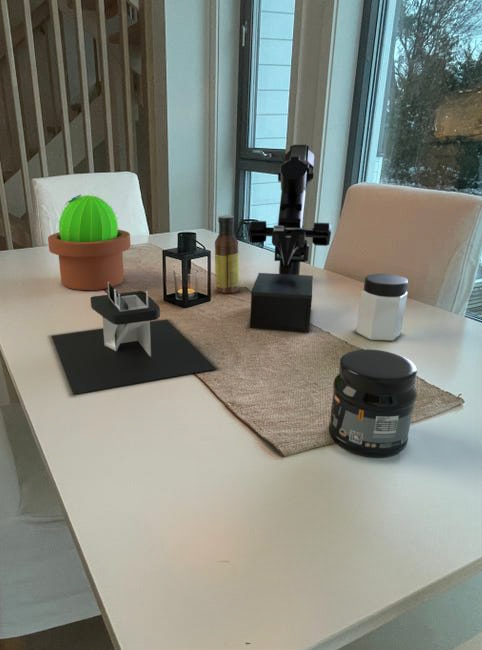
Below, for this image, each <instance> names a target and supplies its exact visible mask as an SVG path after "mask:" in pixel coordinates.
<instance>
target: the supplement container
mask: <svg viewBox="0 0 482 650" xmlns="http://www.w3.org/2000/svg"><path fill="white" fill-rule="evenodd" d="M338 366H339V367H338V374H337V375H336V376H335V377H334V379H333V383H332V388H333V392H332V401H331V409H330V416H329V417H330V418H329V422H328V433H329V437H330V438H331V440H332V441H333V443H334V444H336V445H337V446H338V447H339V448H341V449H342V450H344V451H346V452H347V453H349V454H353V455H355V456H358V457H361V458H367V459H389V458H392V457H395V456H397V455H399V454H400V453H402V452H403V451H404V450H405V448H406V447H407V445H408V442H409V433H410V427H411V422H412V418H413V417H412V416H413V411H414V407H415V402H416V400H417V397H418V396H417V395H418V392H417V389H416V387H415V384H416V380H417V375H418V374H417V373H418V368H417V366H416V365H415V364H414V362H413V361H411V360H410V359H408V358H406V357H405V356H403V355H400V354H397V353H395V352H391V351H386V350H379V349H369V348H368V349H365V348H364V349H355V350H351V351H348V352H346V353H344V354H343V355H342V356H341V357H340V359H339V365H338Z"/></svg>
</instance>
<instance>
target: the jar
mask: <svg viewBox="0 0 482 650" xmlns="http://www.w3.org/2000/svg"><path fill="white" fill-rule="evenodd" d="M408 283H409V280H408V279H407V278H406V277H403V276H400V275H397V274H389V273H373V274H369V275H366V276H365V278H364V284H363V289H362V290H361V292H360V300H359V308H358V315H357V321H356V323H357V324H356V330H355V331H356V333H357V334H359V335H361V336H363V337H365V338H366V339H368V340H370V341H388V342H389V341H390V342H393V341H395V340H396V339H397V338H398V337H400V335H401V333H402V329H403V321H404V316H405V310H406V304H407V300H408V299H407V298H408V291H407V290H408V285H409V284H408Z"/></svg>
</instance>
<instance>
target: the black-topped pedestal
mask: <svg viewBox="0 0 482 650" xmlns="http://www.w3.org/2000/svg"><path fill="white" fill-rule="evenodd" d="M107 291H108V292H107V293H108V294H102V295H101V294H100V295H94V296H91V297H90V298H89V299H90V307H91V309H92V310H93V311H94V312H96V313H97V314H98V315H100V316H101V318H102V328H96V329H90V330H83V331H75V332H68V333H60V334H54V335H53V334H52V335H51V338H52V341H53V344H54V347H55V350H56V352H57V355H58V357H59V358H58V359H59V361H60V364H61V365H62V366H61V367H62V368H63V372H64V374H65V377H66V379H67V382H68V385H69V388H70V390H71V393H72V395H76V394H78V395H79V394H82V393H83V394H84V393H88V392H94V391H99V390H100V391H101V390H104V389H105V390H106V389H112V388H116V387H122V386H128V385H133V384H139V383H143V382H150V381H156V380H162V379H167V378H173V377H177V376H184V375H189V374H195V373H201V372H206V371H211V370H217V367H216V366H214V364H213V363H211V362H210V360H208V358H206V357H205V355H204V354H202V353H201V352H200V350H198V349H197V348H196V347H195V346H194V345H193V344H192V343H191V342H190V341H189V340H188V339H187V338H186V337H185V336H184V334H182V333H181V332H180V331H179V330H178V329H177V328H176V327H175V326H174V325H173V324H172V322H171V321H169V320H168V319H160V320H158V319H159V318H161V310H160V309H161V307H160V305H159V304H158V303H156V302H155V300H153V299H152V297H150V296H149V292H148V290H146V291H143V290H135V291H125V292H118V291H117V289H114V287H112V286H111V285H110V284H109V282H108V288H107Z"/></svg>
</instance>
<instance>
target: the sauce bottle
mask: <svg viewBox="0 0 482 650" xmlns="http://www.w3.org/2000/svg"><path fill="white" fill-rule="evenodd" d="M217 222H218V235H217V237H216V239H215V241H214V271H215V273H214V275H215V289H216V291H217V292H218V293H220V294H235V293H236V292H238V291H239V285H240V274H239V273H240V267H239V265H240V264H239V258H240V256H239V255H240V251H239V241H238V239H237V237H236V235H235V231H234V223H235V216H234V215H230V214H225V215H223V214H222V215H218V218H217Z"/></svg>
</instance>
